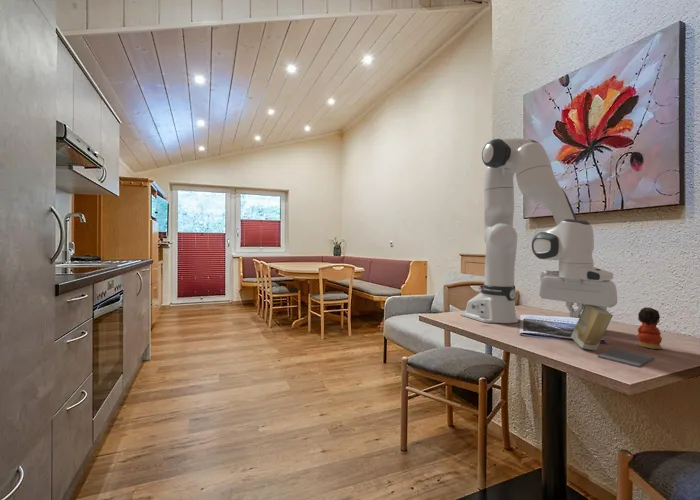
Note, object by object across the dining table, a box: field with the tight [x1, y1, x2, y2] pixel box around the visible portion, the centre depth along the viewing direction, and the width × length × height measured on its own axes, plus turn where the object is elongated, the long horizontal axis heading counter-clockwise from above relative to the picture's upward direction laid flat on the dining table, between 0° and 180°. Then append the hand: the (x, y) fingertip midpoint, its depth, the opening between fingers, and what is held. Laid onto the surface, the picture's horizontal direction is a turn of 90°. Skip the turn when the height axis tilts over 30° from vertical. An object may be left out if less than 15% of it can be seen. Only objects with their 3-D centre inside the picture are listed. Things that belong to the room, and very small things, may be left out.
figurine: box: [637, 306, 663, 350], centre depth 102 cm, size 6×6×12 cm
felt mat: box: [597, 347, 655, 368], centre depth 93 cm, size 9×12×1 cm
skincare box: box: [570, 304, 614, 352], centre depth 99 cm, size 6×4×12 cm
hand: (575, 317), depth 103 cm, fingers closed
